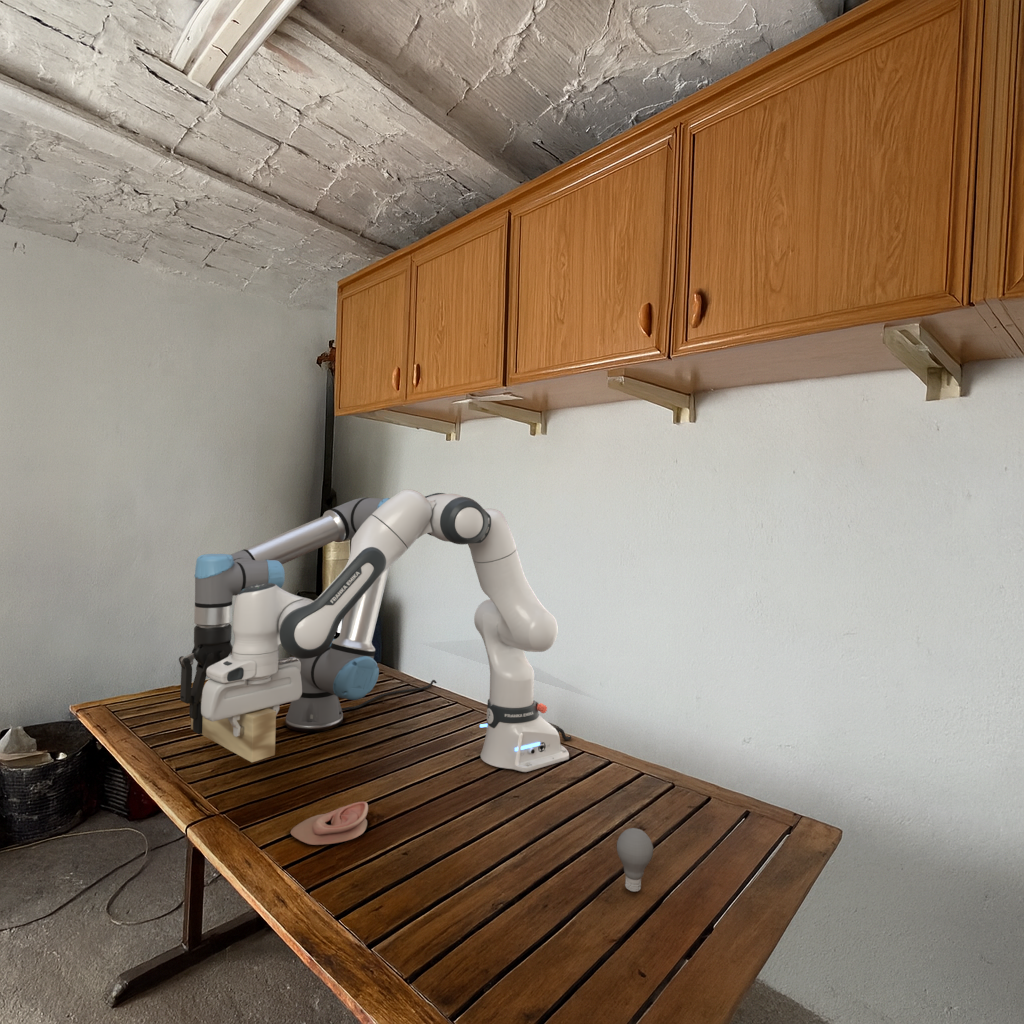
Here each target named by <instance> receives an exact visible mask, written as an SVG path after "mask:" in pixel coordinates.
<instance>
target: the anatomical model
mask: <svg viewBox="0 0 1024 1024" xmlns="http://www.w3.org/2000/svg"><path fill="white" fill-rule="evenodd" d="M368 812H369V804H368V803H367V802H366V801H358V802H357V801H356V802H354V803H349V804H347V805H344V806H341V807H337V808H336V809H334V810H331V811H329V812H326V813H322V814H316V815H314V816H311V817H308V818H306V819H304V820H303V821H301V822H299V823H298V824H297V825H295V826H293V828H291V830H290V835H291V836H292V837H294V838H295V839H297V840H298V841H300V842H302V843H304V844H307V845H312V846H320V845H321V846H323V845H332V844H339V843H343V842H347V841H351V840H354V839H356V838H358V837H359V836H361V835H363V834H364V833H365V831H366V830H367V827H368V820H367V819H366V818H367V817H368V816H367V815H368V814H369V813H368Z"/></svg>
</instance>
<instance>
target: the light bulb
mask: <svg viewBox="0 0 1024 1024" xmlns="http://www.w3.org/2000/svg"><path fill="white" fill-rule="evenodd" d="M616 852H617V856H618V858H619V860H620V862H621V864H622V866H623V872H624V875H625V882H624V887H625V889H627V890H628V891H630V892H633V893H634V892H635V893H636V892H639V891H641V889H642V878H643V876H644V875H645V869H646V868H647V867H648V865H649V864H650V862H651V860H652V858H653V855H654V845H653V842H652V840H651V838H650V836H649V835H648V834H647V832H645V831H644V830H642V829H640V828H636V827H629V828H627V829H625V830H624V831H623V832H622V833H620V835H619V836H618V839H617V841H616Z"/></svg>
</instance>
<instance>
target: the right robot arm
mask: <svg viewBox="0 0 1024 1024" xmlns="http://www.w3.org/2000/svg"><path fill="white" fill-rule="evenodd" d="M389 498H390V499H389V500H387V501H386V502H385V503H384V504H382V505H381V506H380V507H379V508H378V509H377V510H376V511H375V512H373V513H372V514H371V515H370V516H369V517H368V518H367V519H366V521H365V522H364V523H363V524H362V525H361V526H360V528H359V529H358V531H357V532H356V533H355V535H354V536H353V538H351V541H350V552H349V557H348V560H347V563H346V564H345V566H344V568H343V569H342V570H341V572H340V573H339V574H338V575H337V576H336V577H335V578H334V580H333V581H331V583H330V584H329V585H328V586H327V587H326V588H325V590H323V591H322V592H321V594H320V595H319V596H318V597H317V598H316V599H314V600H313V599H311V598H308V597H303V596H300V595H297V594H293V593H291V592H290V591H286V590H285V589H283V588H282V587H281V588H279V587H278V586H277V585H276V584H273V583H261V584H256V585H251V586H249V587H246V588H244V589H242V590H241V591H240V592H239V593H238V595H236V597H235V601H234V606H233V613H232V633H233V636H234V641H233V645H232V647H233V648H232V655H231V654H229V656H228V657H227V658H225V659H223V660H221V661H219V662H217V663H215V664H213V665H211V666H209V667H208V668H207V670H206V675H207V676H206V678H209V679H208V680H206V681H205V683H204V688H203V693H202V701H201V714H202V716H203V717H204V718H205V719H207V720H209V721H212V722H213V721H218V720H222V719H225V718H228V720H229V722H230V723H231V725H232V726H233V735H234V736H236V737H239V736H242V735H244V726H242V725H239V724H238V722H237V720H240V715H241V714H245V713H249V712H253V711H257V710H261V709H265V708H269V709H272V710H274V711H276V716H277V715H278V713H279V711H280V705H284V704H288V703H291V702H292V701H296V700H299V699H300V697H301V695H302V681H301V674H300V672H301V662H300V660H299V659H297V658H301V659H308V658H313V657H316V656H318V655H320V654H322V653H323V652H324V651H326V650H327V649H328V647H329V646H330V644H331V643H332V641H333V639H335V636H336V633H337V631H338V628H339V626H340V624H341V622H343V620H344V616H345V615H346V614H347V613H348V612H349V611H350V609H351V608H352V607H353V606H354V605H355V604H356V603H357V601H358V600H359V599H360V598H361V597H362V596H363V594H364V593H365V592H366V591H367V590H368V589H369V587H370V586H371V585H372V584H373V583H374V581H375V580H376V579H377V578H378V577H380V576H381V575H382V574H383V573H384V572H385V571H386V570H387V569H388V568H389V567H391V566H393V565H394V564H395V563H396V561H398V560H399V559H400V558H401V557H402V556H403V555H404V554H405V553H406V552H407V551H408V549H410V547H411V546H413V544H414V543H415V542H416V540H418V539H419V538H421V537H422V536H424V535H426V534H427V535H429V536H431V537H434V538H436V539H438V540H440V541H443V542H446V543H447V542H448V543H452V544H454V545H467V546H468V548H469V551H470V555H471V559H472V562H473V566H474V569H475V572H476V576H477V579H478V584H479V586H480V588H481V590H482V592H483V593H484V594H485V595H486V596H487V597H488V598H489V599H485V600H483V601H482V602H481V603H480V604H479V605H478V606H477V608H476V610H475V612H474V616H473V621H474V622H473V623H474V626H475V629H476V630H477V632H478V634H479V635H480V637H481V639H482V642H483V644H484V647H485V652H486V655H487V660H488V665H489V698H488V699H487V705H486V723H482V724H479V728H486V732H485V737H484V741H483V746H482V749H481V752H480V755H479V757H480V759H481V761H483V762H484V763H486V764H487V765H490V766H492V767H496V768H500V769H507V770H514V771H518V772H522V773H527V772H531V771H535V770H538V769H541V768H544V767H548V766H551V765H555V764H558V763H561V762H564V761H568V760H569V759H570V753H569V751H568V750H567V748H566V747H565V746H563V744H561V738H560V735H561V736H562V739H563V740H564V741H569V740H571V739H572V736H571V735H568V736H570V737H568V736H566V734H565V731H564V729H563V728H562V727H560V726H559V725H556V724H554V723H552V722H549V721H548V720H546V719H544V718H543V716H541V715H540V713H541V714H545V713H546V712H548V706H547V705H545V704H544V703H540V702H538V701H536V700H534V696H535V695H534V693H535V670H534V668H533V666H532V665H531V663H530V661H529V659H528V658H527V655H526V653H525V652H531V653H542V652H547V651H548V650H549V649H551V648H552V647H553V645H555V642H556V641H557V638H558V635H559V627H558V626H559V625H558V621H557V619H556V617H555V615H553V614H552V613H551V612H550V611H549V610H548V609H547V608H546V607H545V606H544V605H543V604H542V602H541V601H540V600H539V598H538V596H537V595H536V593H535V592H534V590H533V588H532V587H531V585H530V583H529V581H528V579H527V577H526V573H525V571H524V568H523V564H522V561H521V557H520V555H519V551H518V548H517V543H516V541H515V538H514V534H513V532H512V529H511V527H510V525H509V523H508V521H507V519H506V516H505V515H504V514H503V513H502V511H500V510H498V509H496V508H483V506H481V504H480V503H479V502H477V501H476V500H474V499H473V498H470V497H467V496H463V495H460V494H457V493H445V492H436V493H431V494H429V495H424V494H422V493H421V492H419V491H418V490H414V489H411V488H406V489H402V490H400V491H399V492H397V493H395V494H394V495H392V496H391V497H389ZM389 569H390V568H389ZM280 645H281V646H282V648H283V649H284V651H285V652H286V653H287V654H288V655H290V656H289V657H284V658H283V657H282V658H279V657H280V656H279V655H280ZM295 657H297V658H295ZM295 660H297V661H295ZM539 712H540V713H539Z"/></svg>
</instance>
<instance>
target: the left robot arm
mask: <svg viewBox="0 0 1024 1024" xmlns="http://www.w3.org/2000/svg"><path fill="white" fill-rule="evenodd" d="M390 498H391V497H385V498H383V497H382V498H380V497H358V498H356V499H352V500H349V501H347V502H345V503H342V504H340V505H338V506H337V505H336V506H335V507H333V508H330V509H328V510H326V511H324V513H323V515H322V516H320V517H317V518H316V519H312V520H311V521H309V522H306V523H303V524H301V525H299V526H297V527H294V528H291V529H289V530H287V531H285V532H282V533H280V534H277V535H275V536H273V537H270V538H268V539H266V540H262V541H260V542H258V543H256V544H253V545H251V546H248V547H246V548H244V549H241V550H238V551H236V552H234V553H231V554H228V553H207V554H206V553H205V554H201V555H199V556H198V557H197V558H196V563H195V569H194V619H193V620H194V622H193V623H194V624H195V626H194V627H193V648H192V650H191V653H189V654H187V655H185V656H183V655H181V656H179V658H178V662H179V664H180V667H181V668H180V691H179V692H180V693H179V700H180V701H181V702H183V703H184V704H187V705H189V715H188V716H189V718H190V719H191V718H192V719H193V730H192V732H194V733H195V734H197V735H201V734H202V721H203V716H202V714H201V703H200V702H199V701H200V698H201V694H202V690H203V687H204V685H205V683H206V679H207V675H206V670H207V668H208V667H209V666H211V665H213V664H215V663H217V662H219V661H221V660H223V659H225V658H227V657H228V656H230V655H232V648H233V645H232V633H233V625H232V624H230V623H233V597H234V596H236V597H237V595H238V593H239V592H240V591H241V590H242V589H244V588H246V587H249V586H251V585H256V584H261V583H273V584H276V585H277V586H278V587H279V588H281V589H282V588H283V586H284V584H285V578H286V577H285V576H286V573H285V569H284V566H283V565H285V564H287V563H289V562H291V561H293V560H296V559H298V558H301V557H302V556H304V555H307V554H309V553H311V552H313V551H316V550H318V549H320V548H322V547H325V546H327V545H329V544H331V543H333V542H335V543H342V542H344V541H347V540H350V539H351V540H352V538H353V536H354V535H355V533H356V532H357V531H358V529H359V528H360V526H361V525H362V524H363V523H364V522H365V521H366V519H367V518H368V517H369V516H370V515H371V514H372V513H373V512H375V511H376V510H377V509H378V508H379V507H380V506H381V505H382V504H384V503H385V502H386V501H387V500H389V499H390ZM390 567H391V566H390ZM390 567H389V568H388V569H387V570H386V571H385V572H384V573H383V574H382V575H381V576H380V577H378V578H377V579H376V580H375V581H374V583H373V584H372V585H371V586H370V587H369V589H368V590H367V591H366V592H365V593H364V594H363V596H362V597H361V598H360V599H359V600H358V601H357V603H356V604H355V605H354V606H353V607H352V608H351V609H350V611H349V612H348V613H347V614H346V615H345V616H344V618H343V619H342V624H341V628H340V632H339V636H338V637H337V638H334V639H333V641H332V643H331V644H330V646H329V647H328V649H327V650H326V651H324V652H323V653H322V654H320V655H318V656H316V657H313V658H308V659H301V658H297V657H295V658H297V659H299V660H300V662H301V672H300V674H301V681H302V695H301V697H300V699H299V700H296V701H292V702H290V704H289V708H288V711H287V713H286V715H285V726H286V728H287V729H289V730H291V731H294V732H295V731H296V732H301V733H316V732H325V731H329V730H332V729H335V728H337V727H339V726H340V725H342V723H343V722H344V713H343V711H351V710H355V709H359V708H361V707H364V706H365V705H367V704H369V703H371V702H373V701H376V700H377V699H380V698H382V697H386V696H390V695H394V694H402V693H408V692H414V691H422V690H426V689H429V688H431V687H432V685H433V684H437V683H438V682H437V681H436V680H435V679H432V680H431V681H430V682H429V684H428V685H426V686H421V687H414V688H407V689H401V690H393V691H389V692H385V693H381V694H379V695H377V696H374V697H372V698H370V699H367V700H366V701H364V702H362V703H360V704H358V705H354V706H346V707H342V706H341V702H340V699H345V700H347V701H357V700H360V699H363V698H364V697H366V696H367V694H370V693H371V692H372V690H373V689H374V688H375V686H376V684H377V682H378V679H379V676H380V675H379V674H380V668H379V666H378V663H377V661H376V660H375V659H374V658H375V655H376V654H375V653H376V648H375V646H374V645H373V642H372V641H373V638H374V634H375V630H376V624H377V621H378V617H379V612H380V608H381V604H382V601H383V596H384V593H385V588H386V584H387V580H388V577H389V571H390ZM194 660H195V661H196V662H197V664H196V667H195V675H194V678H193V666H192V665H194ZM295 661H297V660H295Z"/></svg>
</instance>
